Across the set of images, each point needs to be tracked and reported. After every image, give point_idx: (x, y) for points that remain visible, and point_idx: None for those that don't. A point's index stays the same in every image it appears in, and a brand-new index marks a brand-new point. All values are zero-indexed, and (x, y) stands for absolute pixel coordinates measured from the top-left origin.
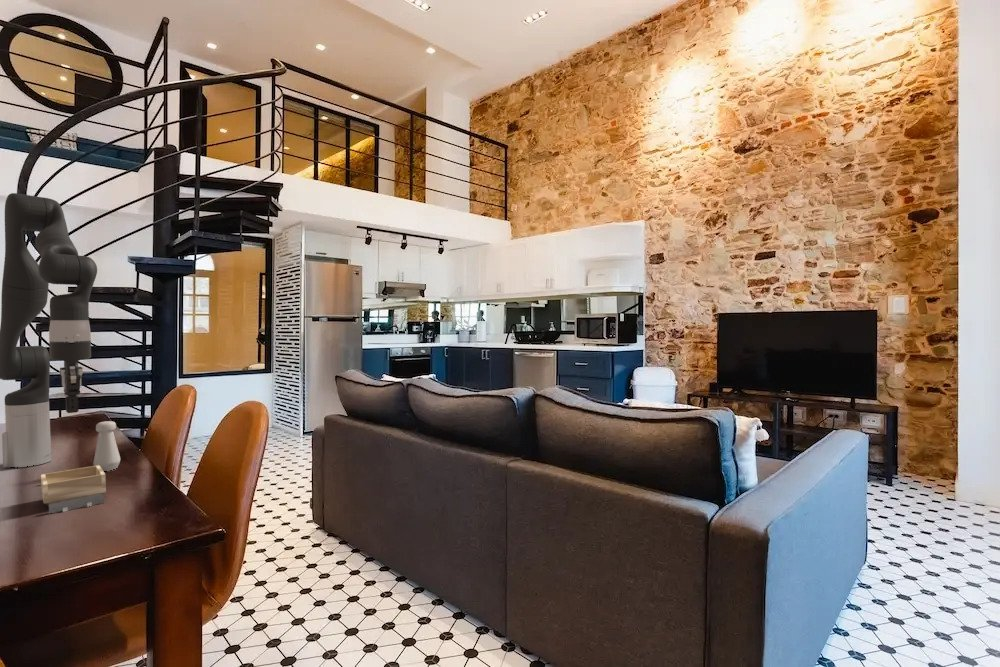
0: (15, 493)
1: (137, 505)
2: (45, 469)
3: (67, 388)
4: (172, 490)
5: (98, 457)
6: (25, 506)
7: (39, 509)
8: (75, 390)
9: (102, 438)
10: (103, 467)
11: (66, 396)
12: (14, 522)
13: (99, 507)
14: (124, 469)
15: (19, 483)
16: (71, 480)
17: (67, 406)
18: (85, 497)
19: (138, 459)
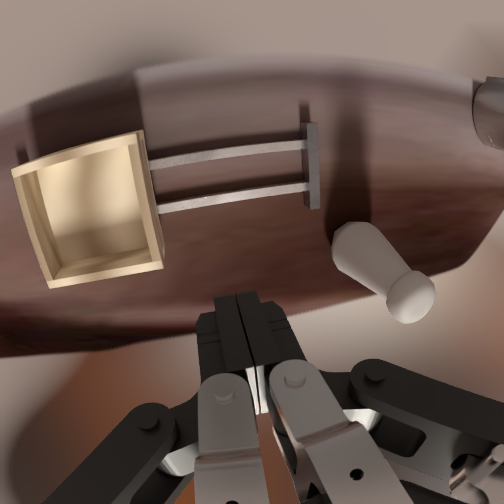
0: (260, 66)
1: (15, 305)
2: (440, 129)
3: (79, 472)
4: (80, 351)
5: (353, 240)
6: (107, 105)
7: (63, 141)
8: (154, 471)
9: (380, 274)
10: (334, 239)
11: (200, 388)
12: (5, 120)
13: (23, 251)
14: (323, 271)
15: (358, 75)
16: (26, 224)
17: (218, 325)
18: (29, 236)
19: None
